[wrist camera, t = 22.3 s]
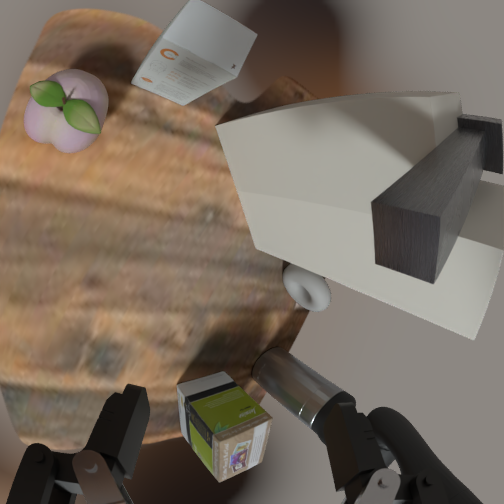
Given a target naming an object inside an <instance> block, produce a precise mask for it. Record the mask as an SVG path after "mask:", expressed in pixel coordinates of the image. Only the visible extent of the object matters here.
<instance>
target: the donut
mask: <svg viewBox="0 0 504 504" xmlns="http://www.w3.org/2000/svg"><path fill="white" fill-rule="evenodd" d="M283 283H284V286H285V287H286V289H287V291H288V293H289V294H290V296H291V297H292V298H293V299H294V300H295V301H296V302H297V303H298V304H300V305H301V306H302V307H304V308H306V309H308V310H310V311H315V312H319V311H322V310H324V309H326V308H327V307H328V306H329V304H330V301H331V292H330V289H329V286H328V284H327V283H326V281H325V280H324V278H323V277H322V276H321V275H318V274H316V273H314V272H311V271H309V270H306V269H304V268H302V267H299V266H297V265H294V264H290V265H288V266H287V267H286V269H285V270H284V272H283Z"/></svg>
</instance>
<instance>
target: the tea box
mask: <svg viewBox="0 0 504 504" xmlns="http://www.w3.org/2000/svg"><path fill="white" fill-rule="evenodd" d="M177 393H178V404H179V414H180V424H181V432H182V434H183V436H184V437H185V439H186V440H187V441H188V443H189V444H190V445H191V447H192V448H193V450H194V451H195V452H196V454H197V455H198V456H199V458H200V459H201V460H202V462H203V463H204V464H205V466H206V467H207V468H208V469H209V471H210V472H211V473H212V474H213V476H214V477H215V478H216V479H217V480H218V481H219V482H222V481H224V480H226V479H228V478H230V477H233V476H235V475H237V474H239V473H241V472H243V471H245V470H247V469H249V468H251V467H253V466H255V465H257V464H258V463H261V462H262V459H263V456H264V452H265V448H266V444H267V440H268V436H269V432H270V428H271V423H272V420H273V418H272V417H271V416H270V415H269V414H268V413H267V412H266V411H265V410H264V409H263V408H262V407H261V406H260V405H258V404H257V403H256V402H255V401H254V400H253V399H252V398H251V397H250V396H249V395H248V394H247V393H246V392H245V391H244V390H243V389H242V388H241V387H240V386H239V385H237V384H236V383H235V382H234V380H233V379H232V378H231V377H230V376H229V375H227V374H226V373H225V372H224V371H222V372H219V373H215V374H212V375H208V376H205V377H202V378H198V379H195V380H191V381H187V382H184V383H180V384H177Z"/></svg>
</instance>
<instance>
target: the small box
mask: <svg viewBox="0 0 504 504" xmlns="http://www.w3.org/2000/svg"><path fill="white" fill-rule="evenodd" d="M256 37H257V34H256V33H255V32H253V31H252V30H250V29H249V28H247V27H246V26H244V25H243V24H241V23H240V22H238V21H236V20H235V19H233V18H231V17H230V16H228V15H227V14H225V13H223V12H221V11H220V10H218V9H216V8H215V7H213V6H211V5H209V4H207V3H205V2H203V1H202V0H189V1H188V2H187V3H186V4H185V5H184V6H183V8H182V9H181V10H180V11H179V12H178V13H177V15H176V16H175V17H174V18H173V20H172V21H171V22H170V23H169V24H168V26H167V27H166V29H165V30H164V31H163V32H162V34H161V35H160V36H159V38H158V39H157V41H156V42H155V43H154V45H153V46H152V48H151V49H150V51H149V52H148V54H147V55H146V57H145V59H144V60H143V62H142V64H141V65H140V67H139V69H138V70H137V72H136V74H135V76H134V78H133V79H132V81H131V84H133V85H136V86H138V87H141V88H143V89H146V90H148V91H150V92H153V93H155V94H158V95H160V96H162V97H165V98H167V99H169V100H171V101H174V102H176V103H178V104H180V105H183V106H184V105H186V104H187V103H189V102H191V101H193V100H194V99H196V98H198V97H200V96H202V95H204V94H205V93H207V92H209V91H211V90H213V89H215V88H217V87H219V86H221V85H223V84H225V83H227V82H228V81H231V80H233V79H235V78H237V76H238V74H239V72H240V70H241V67H242V65H243V63H244V61H245V59H246V57H247V55H248V53H249V51H250V49H251V47H252V45H253V43H254V41H255V39H256Z"/></svg>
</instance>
